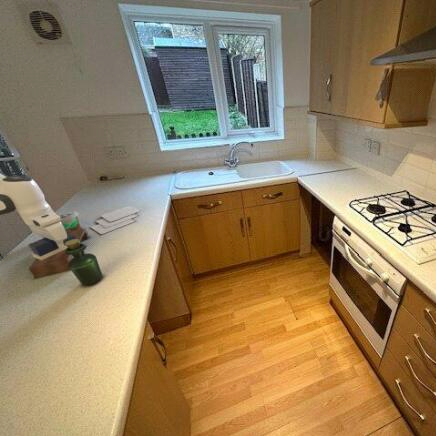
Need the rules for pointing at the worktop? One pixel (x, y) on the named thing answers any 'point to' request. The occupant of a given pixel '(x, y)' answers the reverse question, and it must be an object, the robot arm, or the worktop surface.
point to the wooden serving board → (56, 259)
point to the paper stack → (115, 219)
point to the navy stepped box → (48, 247)
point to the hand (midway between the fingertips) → (55, 244)
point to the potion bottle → (83, 264)
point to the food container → (70, 222)
